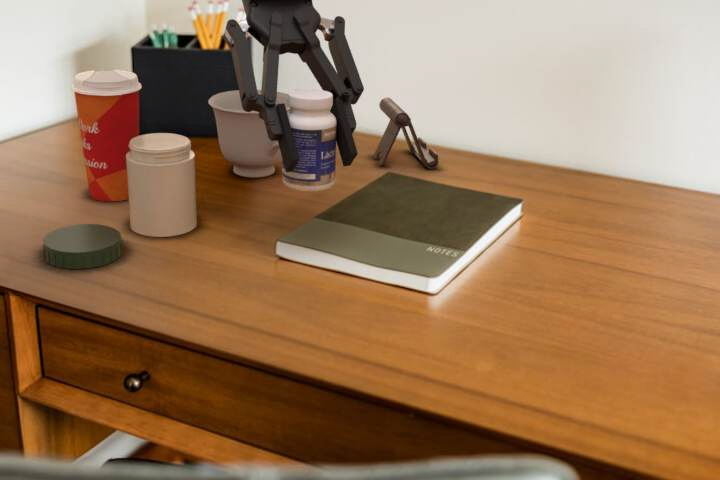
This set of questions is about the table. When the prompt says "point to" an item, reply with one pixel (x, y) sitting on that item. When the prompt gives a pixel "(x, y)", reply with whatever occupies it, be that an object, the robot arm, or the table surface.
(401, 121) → the tablet stand
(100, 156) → the coffee cup
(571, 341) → the table surface
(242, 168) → the teacup
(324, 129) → the pill bottle
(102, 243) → the jar lid
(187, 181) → the jar
